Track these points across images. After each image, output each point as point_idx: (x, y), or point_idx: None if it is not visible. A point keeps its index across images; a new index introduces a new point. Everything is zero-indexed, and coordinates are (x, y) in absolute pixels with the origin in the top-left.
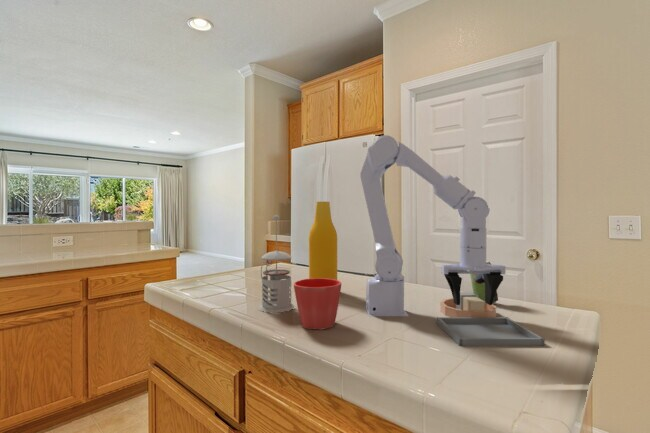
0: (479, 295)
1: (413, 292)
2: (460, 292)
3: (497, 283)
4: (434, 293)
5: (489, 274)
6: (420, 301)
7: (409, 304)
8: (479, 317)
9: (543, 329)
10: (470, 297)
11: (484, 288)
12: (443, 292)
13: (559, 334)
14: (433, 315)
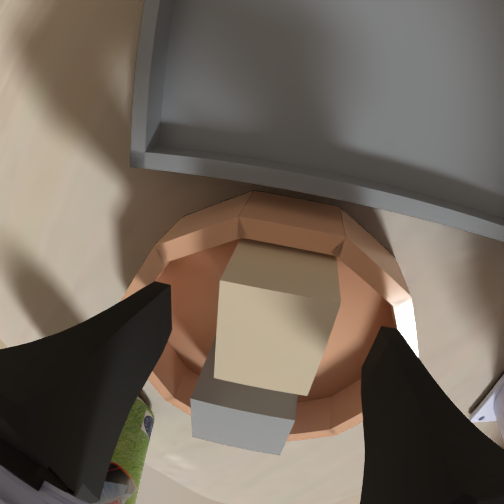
0: (135, 426)
1: (300, 500)
2: (257, 448)
3: (29, 358)
4: (242, 487)
5: (53, 476)
6: (342, 462)
7: None
8: (308, 192)
9: (43, 98)
10: (265, 378)
11: None
12: (210, 484)
13: (29, 46)
14: (426, 352)
